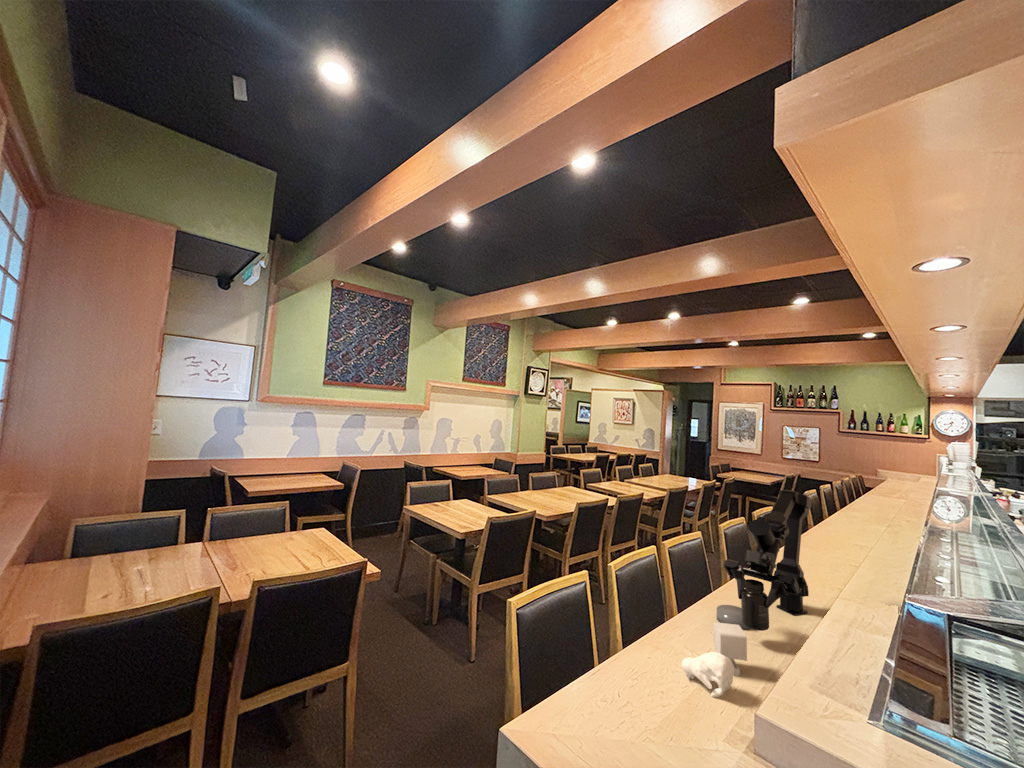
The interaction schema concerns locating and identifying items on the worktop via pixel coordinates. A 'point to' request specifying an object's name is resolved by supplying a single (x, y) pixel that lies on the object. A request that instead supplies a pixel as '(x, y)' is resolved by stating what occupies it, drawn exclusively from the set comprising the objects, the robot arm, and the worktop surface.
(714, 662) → the white toy
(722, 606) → the stand
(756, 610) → the supplement bottle
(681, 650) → the worktop surface
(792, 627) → the worktop surface
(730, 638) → the security camera
